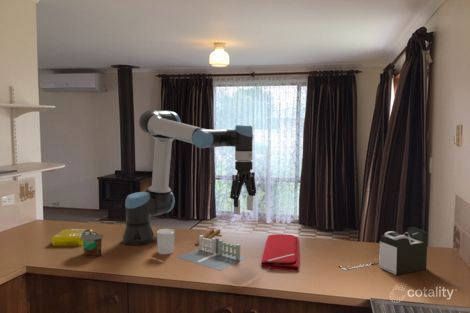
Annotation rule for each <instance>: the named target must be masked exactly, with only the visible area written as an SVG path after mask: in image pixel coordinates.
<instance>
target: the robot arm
mask: <svg viewBox="0 0 470 313" xmlns="http://www.w3.org/2000/svg"><path fill="white" fill-rule="evenodd" d="M138 126H139V128H140V130H141V131H142V132H144V133H145V134H147V135H151V137H152V139H154V150H153V163H152V165H153V166H152V176H151V177H152V178H151V186H149V187H148V190H147V191H148V192H147V191H139V192H134V193H133V192H132V193H130V194H128V195H127V196H126V198H125V204H124V207H125V228H124V232H123V235H122V243H123V244H125V245H130V246H140V245H142V246H143V245H146V244H150V243H152V242H154V240H155V234H154V231H153V229H152V225H151V218H152V217H154V216H160V215H164V214H167V213H169V212H171V211H172V210H173V209H174V206H175V205H176V203H175V202H176V200H175V199H176V198H175V196H174V193H173V192H172V189H171V187H170V186H169V185H170V184H169V183H170V171H171V170H170V169H171V158H172V146H173V141H174V140H178V141H182V142H186V143H190V144H193V145H194V146H195V147H196V148H199V149H207V148H217V147H218V148H221V147H234V160H235V162H234V169H235V170H236V174H232V176H231V179H232V182H231V188H230V194H229V195H230V196H229V198H230V199H231V200H233V215H238V216H239V215H241V199H239V198H240V196H241V192H242V189H243V185H245V189H246V192H247V194H248V195H246V210H247V211H253V210H254V208H253V207H254V196H256V194H257V188H256V178H255V172H254V171H252V170H253V168H254V167H253V164H254V162H253V161H252V160H253V154H254V153H253V144H254V143H253V141H254V133H253V126H252V125H251V124H247V125H245V124H243V125H242V124H237V125H235V128H234V129H224V128H219V129H207V128H204V127H203V128H202V127H199V126H195V125H191V124H187V123H183V122H181V118H180V116H179V115H178V113H176V112H175V111H171V110H159V109H158V110H154V109H149V110H146V111H144V112H143V113H141V114H140V116H139V118H138Z"/></svg>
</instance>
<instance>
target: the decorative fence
mask: <svg viewBox="0 0 470 313" xmlns="http://www.w3.org/2000/svg"><path fill="white" fill-rule="evenodd" d="M219 233H221V229H217V230H215V229H212V228H211V229H210V230H209V231H207V233H206V234H205V235H203V236H204V238H206V239H212V238H215V236H216V237H222V234H219ZM194 246H198V247H199V240H197V241H196V242H195V243H194Z"/></svg>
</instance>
